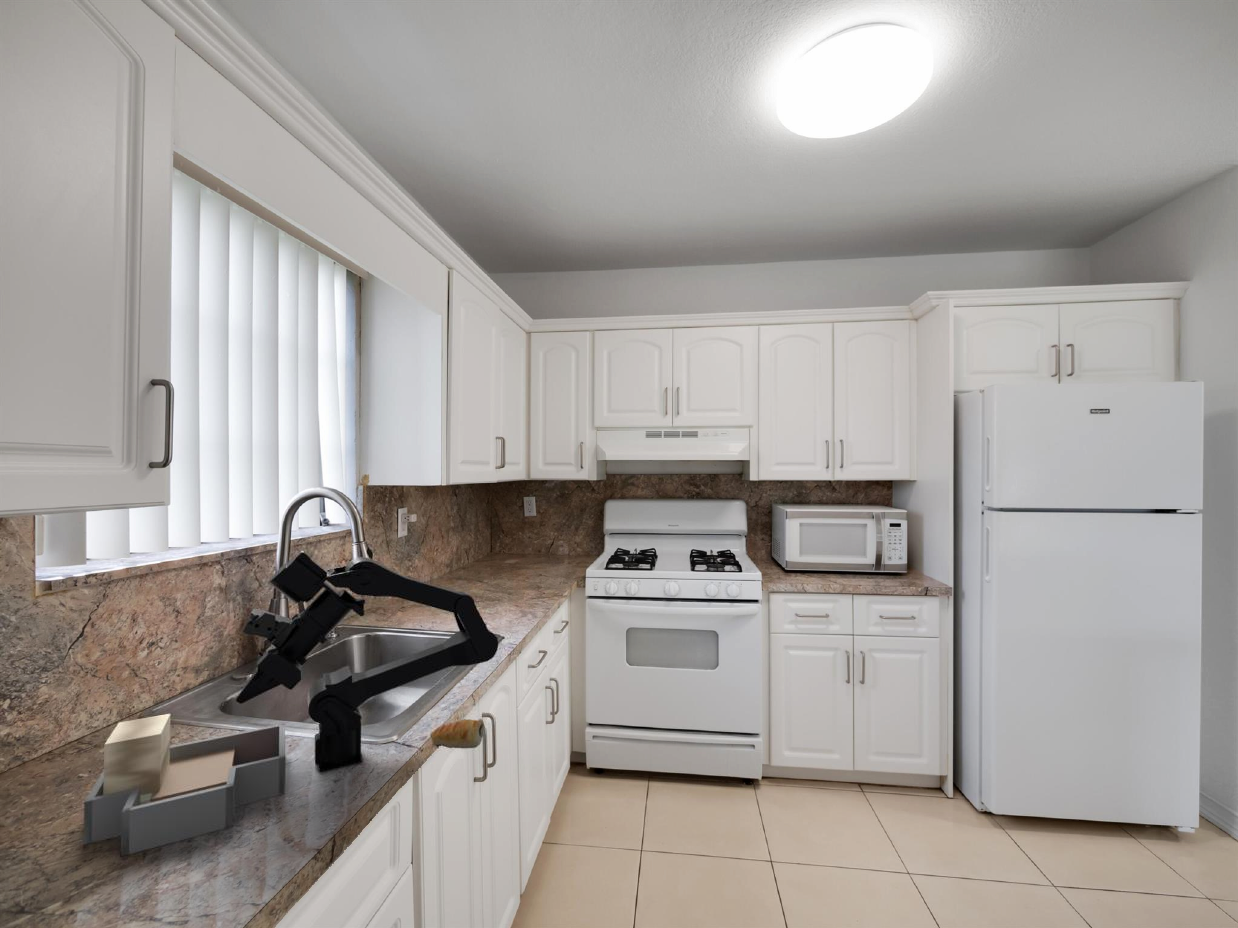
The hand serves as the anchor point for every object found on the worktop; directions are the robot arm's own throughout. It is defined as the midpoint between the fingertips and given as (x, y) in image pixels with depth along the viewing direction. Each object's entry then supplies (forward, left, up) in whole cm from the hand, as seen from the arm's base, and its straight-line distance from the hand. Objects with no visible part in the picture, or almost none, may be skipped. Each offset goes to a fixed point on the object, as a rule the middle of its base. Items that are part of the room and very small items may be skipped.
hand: (238, 701), depth 87 cm
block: (+12, 0, -9) cm, 15 cm away
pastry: (-34, +4, -13) cm, 37 cm away
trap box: (+5, +3, -13) cm, 14 cm away
